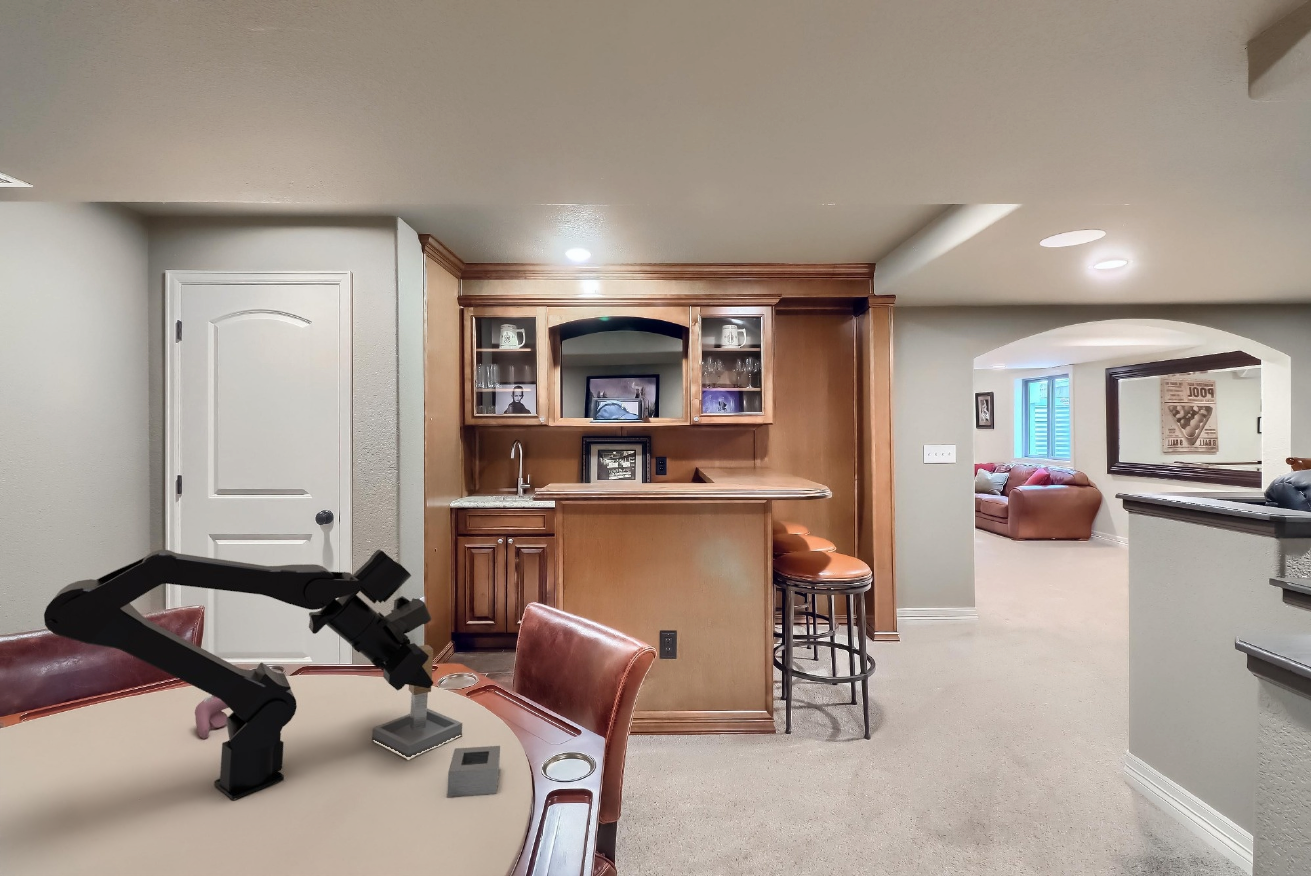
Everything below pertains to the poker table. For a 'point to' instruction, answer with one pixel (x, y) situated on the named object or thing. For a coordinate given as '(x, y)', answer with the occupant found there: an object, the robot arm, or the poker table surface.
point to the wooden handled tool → (421, 695)
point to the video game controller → (210, 715)
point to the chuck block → (474, 771)
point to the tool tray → (416, 733)
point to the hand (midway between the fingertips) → (428, 682)
